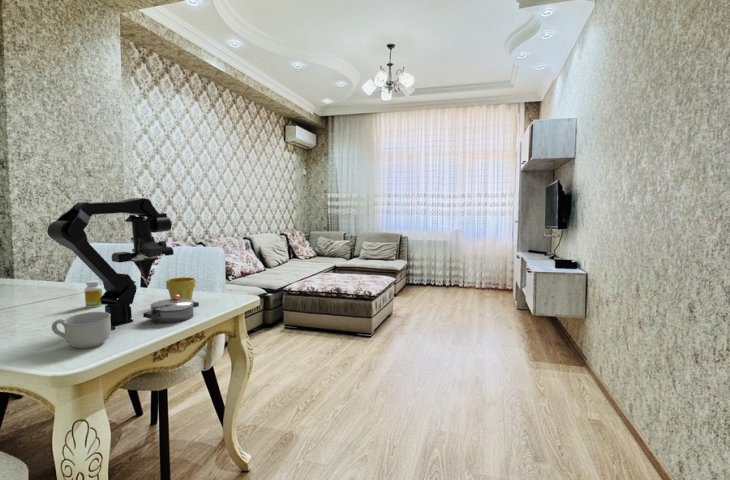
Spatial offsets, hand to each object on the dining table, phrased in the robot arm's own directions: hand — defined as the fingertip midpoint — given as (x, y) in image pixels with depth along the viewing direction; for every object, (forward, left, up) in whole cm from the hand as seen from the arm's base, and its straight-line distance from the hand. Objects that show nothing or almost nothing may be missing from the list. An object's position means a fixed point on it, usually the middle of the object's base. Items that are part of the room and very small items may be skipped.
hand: (146, 278), depth 139 cm
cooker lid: (+1, -12, -9) cm, 15 cm away
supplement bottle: (-3, +29, -13) cm, 32 cm away
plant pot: (+15, +2, -13) cm, 20 cm away
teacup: (-27, -13, -13) cm, 33 cm away
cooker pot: (+1, -12, -13) cm, 18 cm away
